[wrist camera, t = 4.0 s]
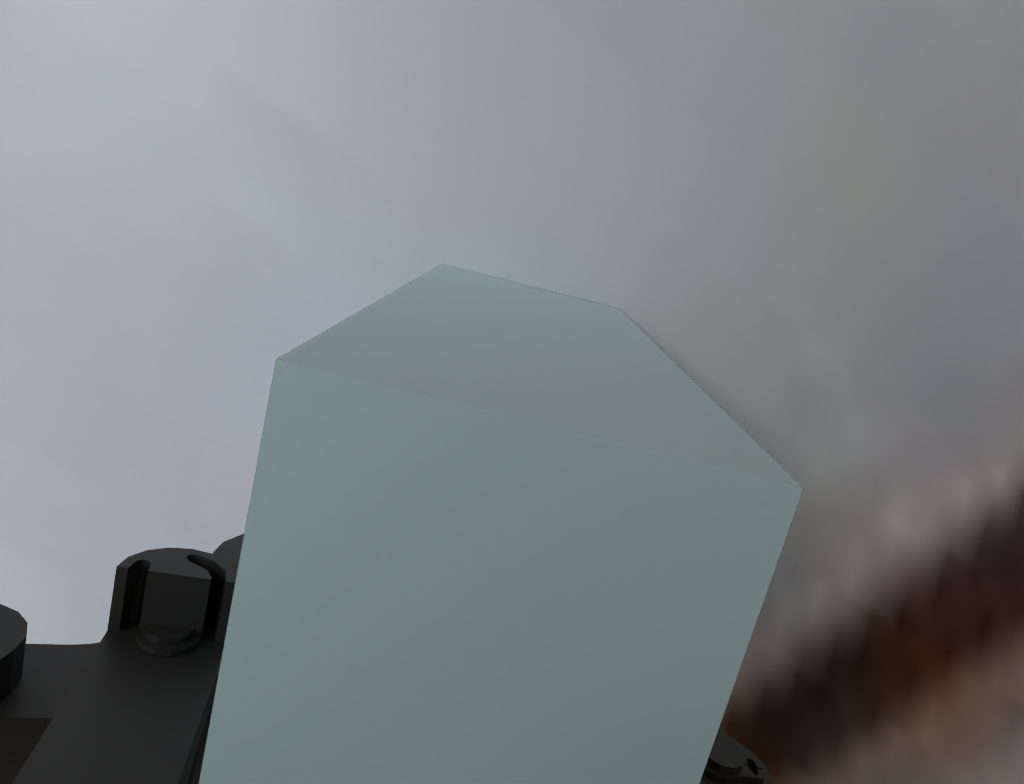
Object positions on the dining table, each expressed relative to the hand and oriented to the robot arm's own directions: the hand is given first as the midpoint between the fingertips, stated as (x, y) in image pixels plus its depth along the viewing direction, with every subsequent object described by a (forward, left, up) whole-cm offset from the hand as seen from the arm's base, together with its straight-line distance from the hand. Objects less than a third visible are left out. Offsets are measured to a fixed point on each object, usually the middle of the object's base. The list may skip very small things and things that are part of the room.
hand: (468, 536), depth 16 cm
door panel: (0, 0, 0) cm, 0 cm away
